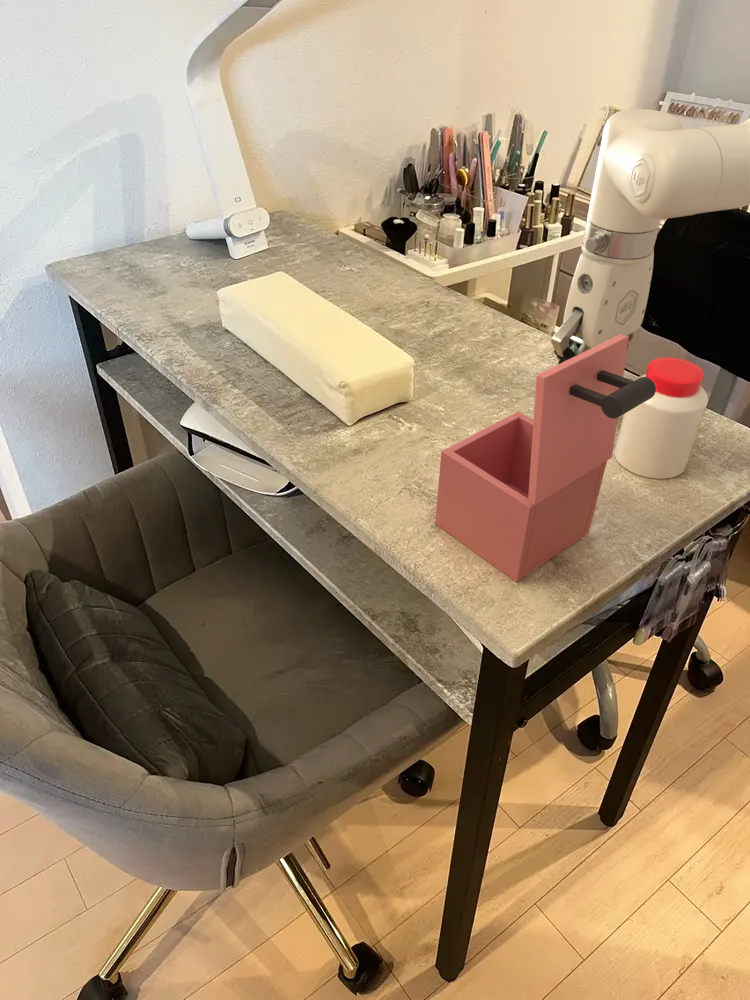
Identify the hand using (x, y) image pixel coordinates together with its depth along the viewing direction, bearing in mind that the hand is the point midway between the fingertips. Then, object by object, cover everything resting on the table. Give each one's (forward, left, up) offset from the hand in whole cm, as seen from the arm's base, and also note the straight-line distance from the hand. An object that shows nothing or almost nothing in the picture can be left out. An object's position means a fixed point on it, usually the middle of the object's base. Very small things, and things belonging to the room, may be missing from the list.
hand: (588, 379), depth 94 cm
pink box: (+3, +29, -2) cm, 29 cm away
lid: (0, +31, +13) cm, 33 cm away
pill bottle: (-9, +12, -2) cm, 14 cm away
